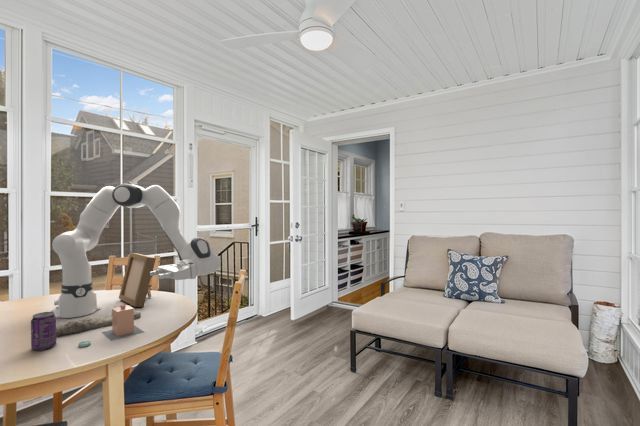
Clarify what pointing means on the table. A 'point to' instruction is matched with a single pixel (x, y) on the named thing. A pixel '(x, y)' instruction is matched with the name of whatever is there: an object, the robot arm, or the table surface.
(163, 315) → the table surface
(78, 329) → the long grey stone
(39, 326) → the beverage can
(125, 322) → the peach block with knob
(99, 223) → the robot arm
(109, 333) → the mat
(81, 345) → the teal flattened ovoid
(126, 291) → the photo frame
